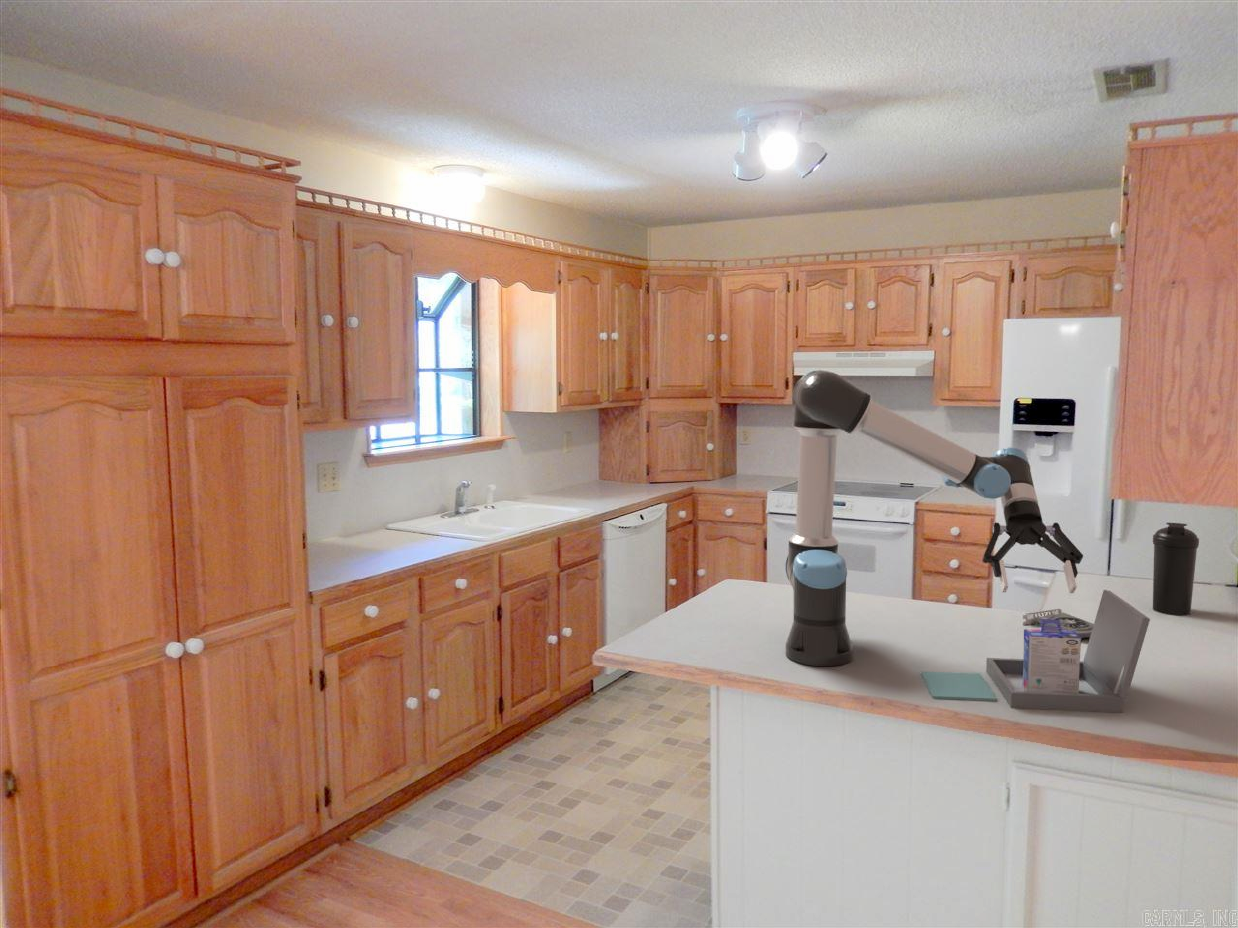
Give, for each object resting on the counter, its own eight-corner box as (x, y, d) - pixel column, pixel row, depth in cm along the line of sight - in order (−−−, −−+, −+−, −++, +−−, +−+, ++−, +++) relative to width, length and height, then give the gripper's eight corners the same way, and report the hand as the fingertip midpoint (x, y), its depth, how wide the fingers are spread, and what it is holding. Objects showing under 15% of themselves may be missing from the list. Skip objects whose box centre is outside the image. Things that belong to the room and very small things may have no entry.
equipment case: (1010, 707, 172) (1014, 613, 169) (986, 671, 191) (989, 586, 189) (1144, 713, 168) (1150, 617, 165) (1105, 675, 187) (1109, 589, 185)
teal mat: (932, 698, 177) (932, 695, 177) (921, 673, 191) (921, 671, 191) (996, 700, 175) (996, 698, 175) (979, 675, 189) (979, 673, 189)
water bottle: (1194, 608, 234) (1199, 523, 231) (1194, 618, 226) (1200, 529, 223) (1149, 603, 240) (1154, 519, 237) (1148, 612, 231) (1153, 526, 228)
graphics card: (1019, 612, 224) (1059, 606, 227) (1019, 626, 224) (1059, 621, 227) (1069, 632, 208) (1111, 626, 211) (1069, 648, 208) (1111, 641, 211)
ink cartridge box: (1072, 687, 182) (1075, 618, 180) (1080, 697, 176) (1083, 626, 174) (1020, 684, 184) (1023, 616, 182) (1027, 694, 178) (1030, 624, 176)
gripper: (1075, 517, 202) (1096, 599, 189) (960, 517, 206) (974, 597, 193) (1084, 498, 196) (1107, 581, 184) (966, 498, 200) (980, 579, 188)
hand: (1039, 589), depth 188 cm, fingers open, 13 cm apart
